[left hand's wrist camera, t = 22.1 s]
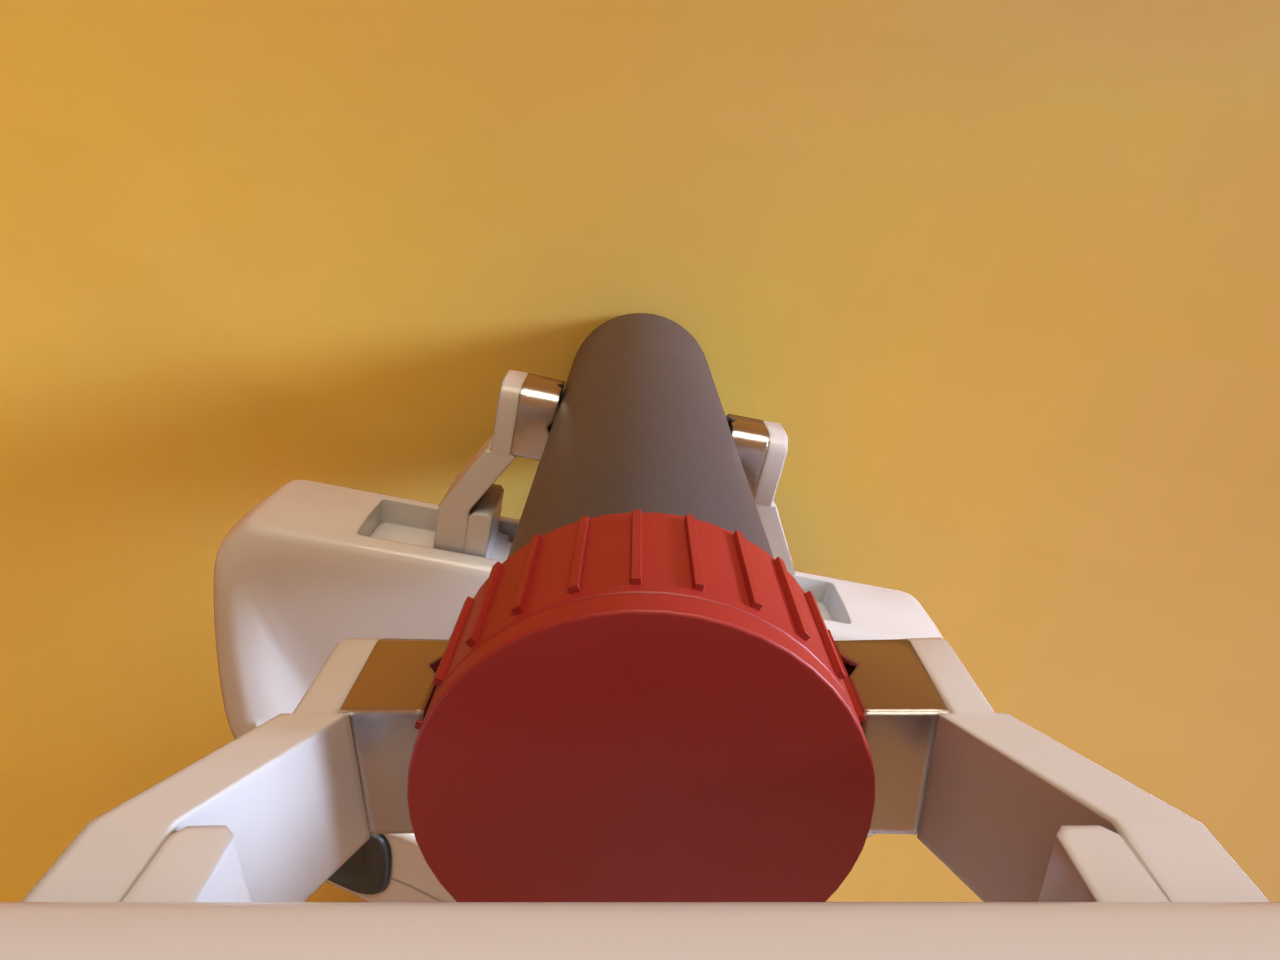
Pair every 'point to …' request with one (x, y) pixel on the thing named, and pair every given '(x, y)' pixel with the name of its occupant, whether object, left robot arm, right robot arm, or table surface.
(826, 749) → the lid
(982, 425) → the table surface
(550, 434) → the jar
